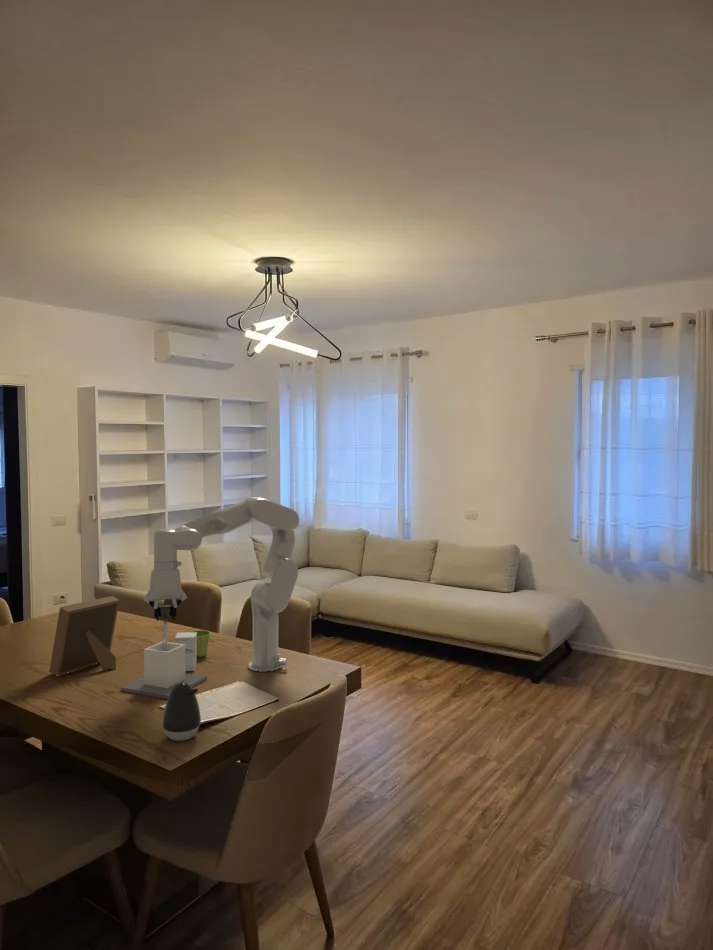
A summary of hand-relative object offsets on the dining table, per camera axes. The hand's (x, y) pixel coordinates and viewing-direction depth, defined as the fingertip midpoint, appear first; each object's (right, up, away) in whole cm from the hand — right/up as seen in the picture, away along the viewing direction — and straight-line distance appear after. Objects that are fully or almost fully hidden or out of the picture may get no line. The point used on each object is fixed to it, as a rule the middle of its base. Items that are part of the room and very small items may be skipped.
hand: (165, 618), depth 214 cm
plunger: (0, -13, 0) cm, 13 cm away
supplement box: (+2, -23, +18) cm, 29 cm away
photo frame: (-32, -22, +15) cm, 42 cm away
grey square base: (0, -23, +1) cm, 23 cm away
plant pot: (+3, -22, +34) cm, 40 cm away
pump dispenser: (+17, -24, -39) cm, 49 cm away
